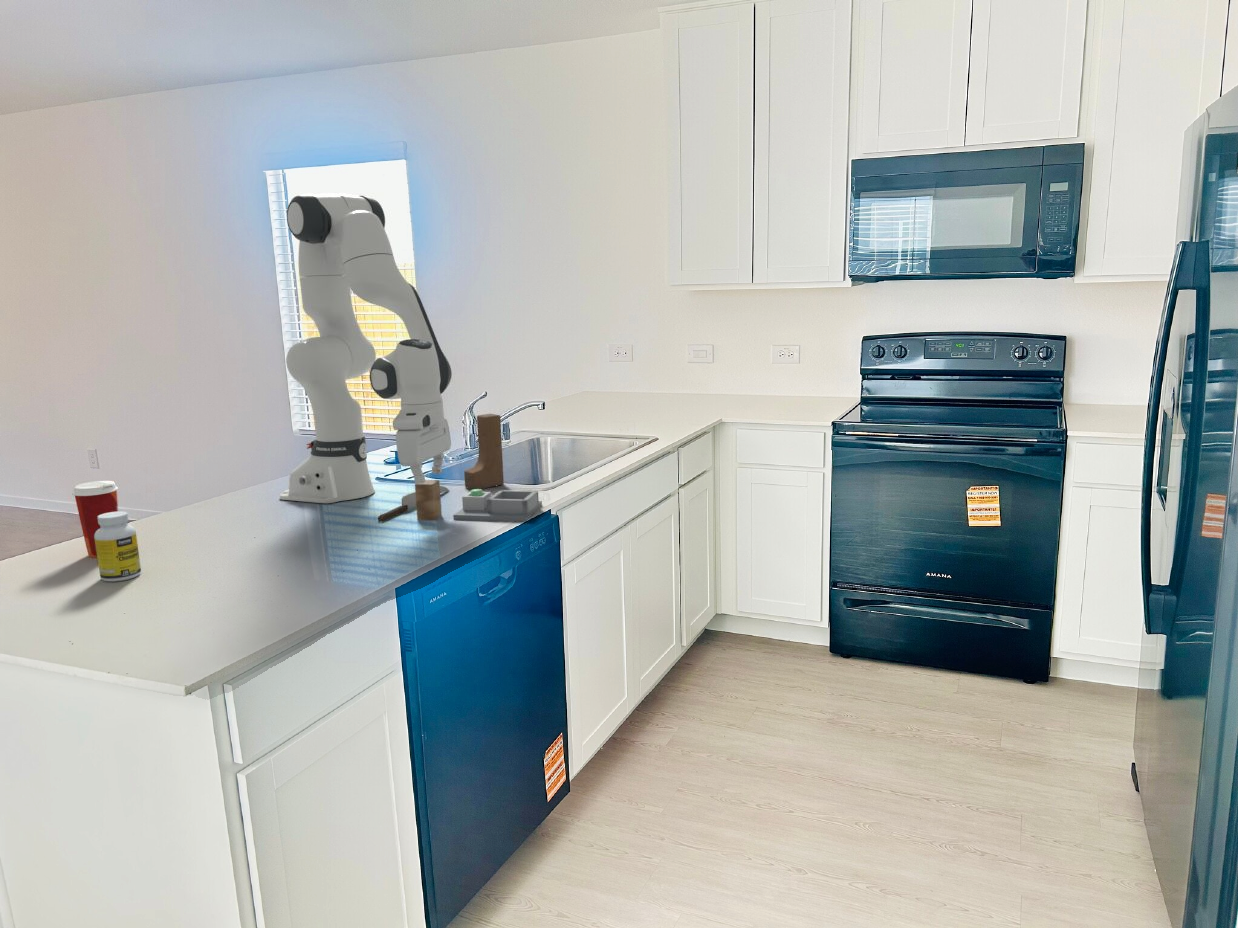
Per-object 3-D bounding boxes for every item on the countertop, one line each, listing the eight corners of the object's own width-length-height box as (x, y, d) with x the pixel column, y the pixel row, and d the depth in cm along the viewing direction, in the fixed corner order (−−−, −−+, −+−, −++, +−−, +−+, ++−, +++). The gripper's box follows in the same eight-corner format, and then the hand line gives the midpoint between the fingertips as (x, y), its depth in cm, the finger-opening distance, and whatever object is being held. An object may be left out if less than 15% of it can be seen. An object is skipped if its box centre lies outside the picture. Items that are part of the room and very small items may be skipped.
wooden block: (473, 490, 217) (469, 419, 213) (464, 487, 220) (460, 417, 217) (504, 484, 222) (500, 415, 219) (495, 482, 226) (491, 413, 222)
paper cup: (136, 549, 174) (126, 481, 171) (102, 561, 167) (91, 489, 164) (106, 546, 177) (96, 479, 174) (72, 557, 169) (61, 487, 167)
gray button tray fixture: (453, 519, 191) (452, 501, 190) (476, 503, 204) (475, 486, 203) (523, 521, 188) (522, 503, 187) (541, 505, 201) (541, 488, 200)
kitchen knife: (381, 508, 189) (450, 475, 217) (376, 507, 190) (446, 475, 217) (383, 526, 190) (451, 491, 218) (378, 526, 191) (447, 491, 218)
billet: (417, 519, 191) (414, 484, 190) (424, 514, 195) (422, 480, 194) (434, 520, 191) (432, 484, 189) (441, 515, 194) (439, 480, 193)
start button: (469, 504, 196) (468, 491, 195) (473, 501, 198) (473, 489, 197) (480, 505, 195) (480, 491, 194) (484, 502, 198) (484, 489, 197)
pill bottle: (113, 585, 153) (103, 521, 151) (93, 579, 156) (83, 516, 154) (149, 574, 158) (140, 512, 156) (129, 568, 162) (120, 508, 159)
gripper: (428, 409, 199) (434, 468, 201) (388, 423, 179) (395, 488, 182) (454, 408, 197) (460, 468, 200) (417, 422, 178) (423, 488, 180)
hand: (429, 478), depth 191 cm, fingers open, 8 cm apart
